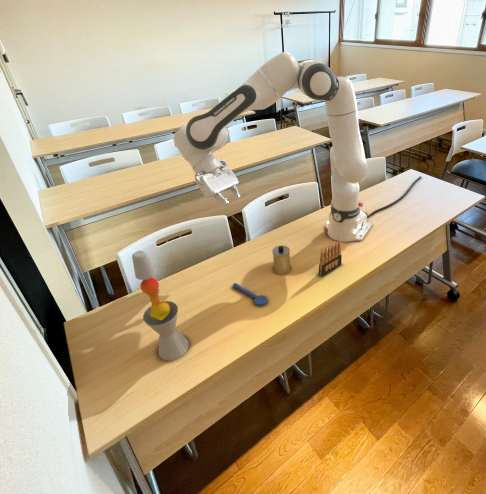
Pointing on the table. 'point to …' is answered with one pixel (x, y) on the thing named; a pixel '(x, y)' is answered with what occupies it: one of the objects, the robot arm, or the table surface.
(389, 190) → the table surface
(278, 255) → the pot
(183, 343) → the lava lamp
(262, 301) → the spoon
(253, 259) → the table surface
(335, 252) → the ammunition clip
